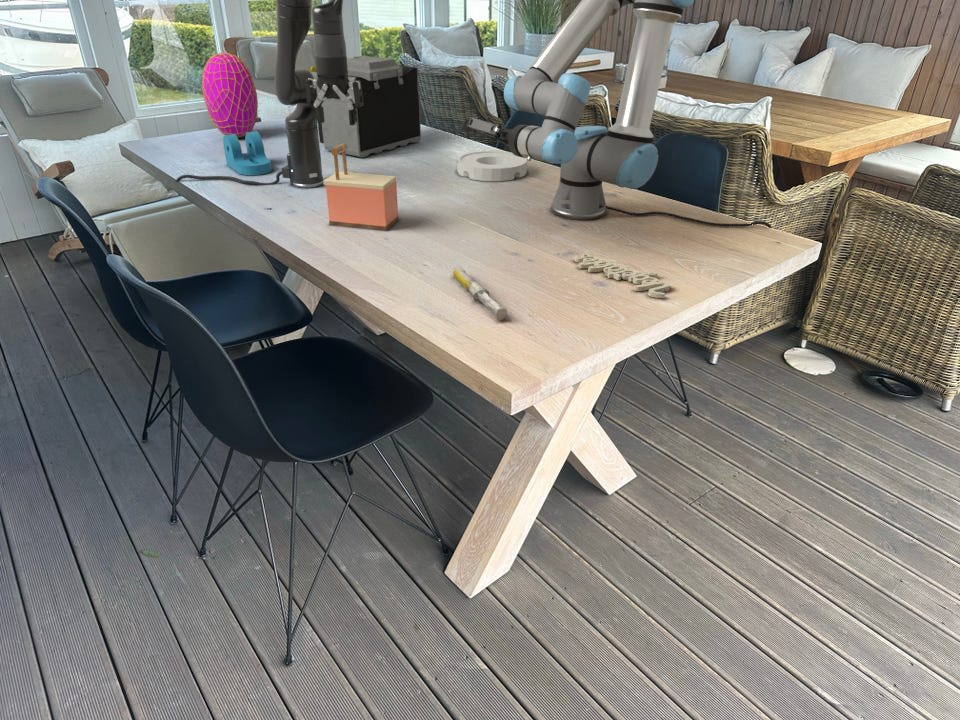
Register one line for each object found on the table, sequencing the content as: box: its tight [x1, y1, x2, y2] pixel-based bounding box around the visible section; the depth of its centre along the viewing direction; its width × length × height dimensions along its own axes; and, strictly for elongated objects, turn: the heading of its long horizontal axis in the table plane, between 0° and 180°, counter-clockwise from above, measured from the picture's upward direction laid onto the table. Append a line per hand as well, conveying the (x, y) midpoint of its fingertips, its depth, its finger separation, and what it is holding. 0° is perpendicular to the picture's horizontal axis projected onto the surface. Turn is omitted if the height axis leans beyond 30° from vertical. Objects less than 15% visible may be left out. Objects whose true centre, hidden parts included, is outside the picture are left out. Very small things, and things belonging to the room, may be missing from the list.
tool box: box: [311, 55, 422, 159], centre depth 250 cm, size 37×22×30 cm, turn 144°
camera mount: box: [222, 131, 272, 176], centre depth 226 cm, size 18×10×10 cm, turn 35°
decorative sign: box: [574, 252, 671, 299], centre depth 155 cm, size 26×1×10 cm
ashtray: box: [456, 150, 528, 182], centre depth 228 cm, size 23×23×4 cm
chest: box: [325, 180, 399, 232], centre depth 182 cm, size 16×9×11 cm, turn 75°
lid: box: [323, 143, 397, 190], centre depth 177 cm, size 17×9×9 cm, turn 75°
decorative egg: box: [201, 52, 259, 139], centre depth 260 cm, size 19×19×30 cm
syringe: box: [452, 266, 509, 321], centre depth 145 cm, size 25×4×3 cm, turn 21°
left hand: (337, 123), depth 173 cm, fingers open, 8 cm apart
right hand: (485, 135), depth 182 cm, fingers open, 13 cm apart
